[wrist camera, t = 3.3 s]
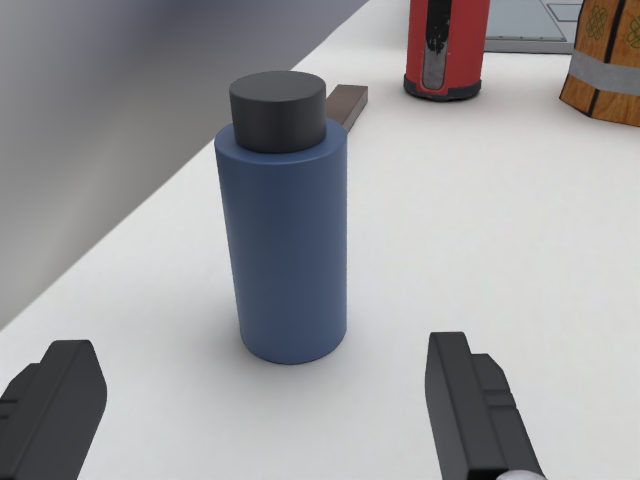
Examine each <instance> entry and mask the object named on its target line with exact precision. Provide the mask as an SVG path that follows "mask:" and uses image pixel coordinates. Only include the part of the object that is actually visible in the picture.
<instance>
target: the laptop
mask: <svg viewBox="0 0 640 480" xmlns="http://www.w3.org/2000/svg"><path fill="white" fill-rule="evenodd" d="M582 3H583V0H491V1H490V8H489V15H488V23H487V30H486V37H485V45H484V51H492V52H527V53H563V54H572V53H573V49H574V42H575V35H576V28H577V21H578V15H579V12H580V9H581V6H582Z"/></svg>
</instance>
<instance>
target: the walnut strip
mask: <svg viewBox="0 0 640 480" xmlns="http://www.w3.org/2000/svg"><path fill="white" fill-rule="evenodd" d="M367 101H368V86H355V85H340V84H339V85H337V87H336V88H335V89H334V90H333V92H332V93H331V94H330V95H329V97H328V98H327V99H326V118H329V119H331V120H334V121H336V122H337V123H339V124H340V125H341V126H342V127H343V128H344V129H345V131H346V133H348V131H349V130H350V128H351V127H352V125H353V123H354V122H355V120H356V119H357V117H358V115H359V114H360V112H361V110H362V109H363V107H364V106H365V104H366V102H367Z"/></svg>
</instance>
